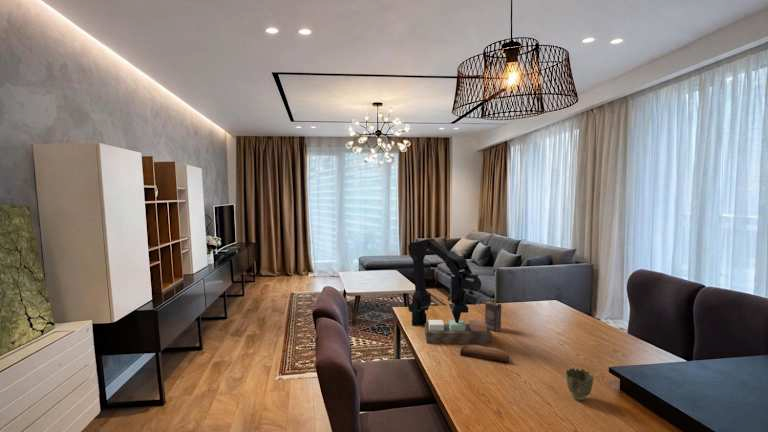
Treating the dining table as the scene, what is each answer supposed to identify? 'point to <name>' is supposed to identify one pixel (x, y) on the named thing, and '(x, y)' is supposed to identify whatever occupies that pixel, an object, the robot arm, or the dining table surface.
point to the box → (493, 316)
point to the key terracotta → (478, 325)
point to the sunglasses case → (484, 352)
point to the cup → (579, 383)
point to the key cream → (436, 325)
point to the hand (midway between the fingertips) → (456, 322)
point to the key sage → (456, 325)
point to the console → (458, 336)
